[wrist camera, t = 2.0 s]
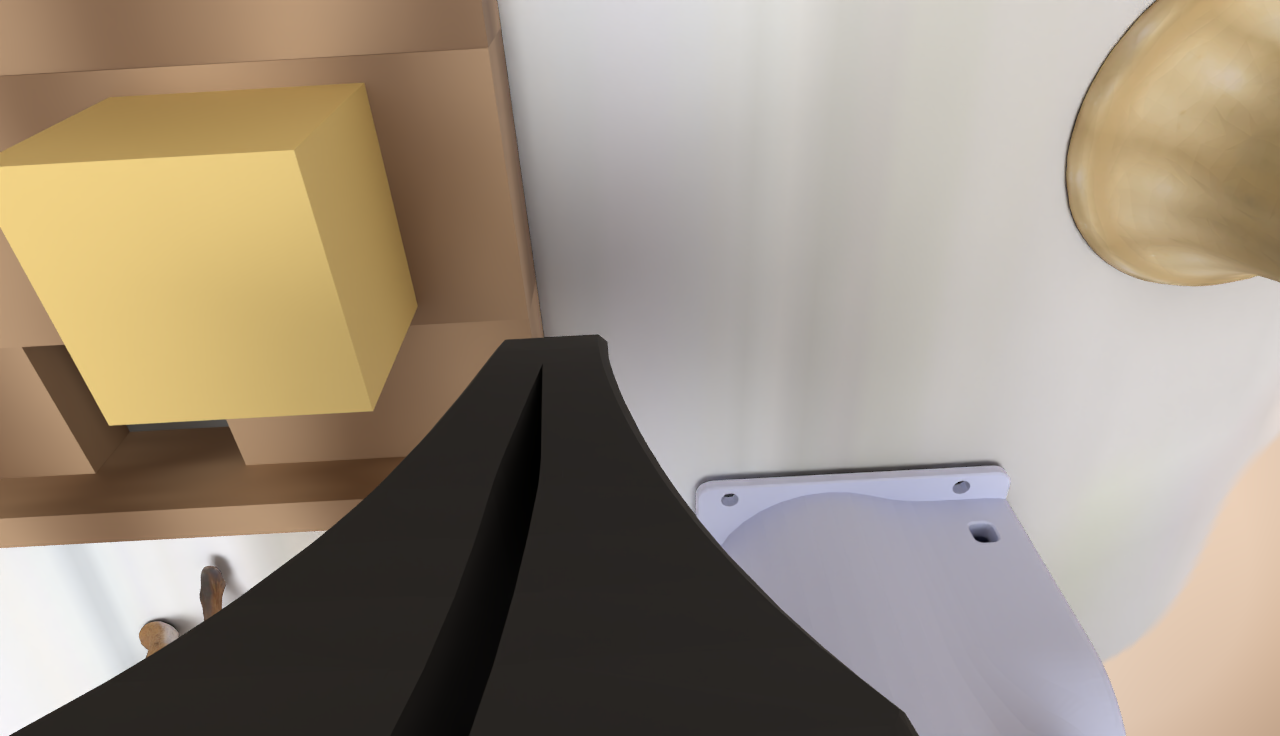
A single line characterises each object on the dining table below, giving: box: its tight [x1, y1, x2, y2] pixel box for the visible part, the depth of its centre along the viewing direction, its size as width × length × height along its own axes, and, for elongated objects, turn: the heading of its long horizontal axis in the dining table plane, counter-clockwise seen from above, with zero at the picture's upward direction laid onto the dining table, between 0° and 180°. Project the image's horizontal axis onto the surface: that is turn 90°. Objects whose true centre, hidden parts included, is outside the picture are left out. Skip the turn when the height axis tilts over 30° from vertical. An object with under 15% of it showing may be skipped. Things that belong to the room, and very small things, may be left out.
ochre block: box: [0, 83, 418, 426], centre depth 15 cm, size 5×5×4 cm
